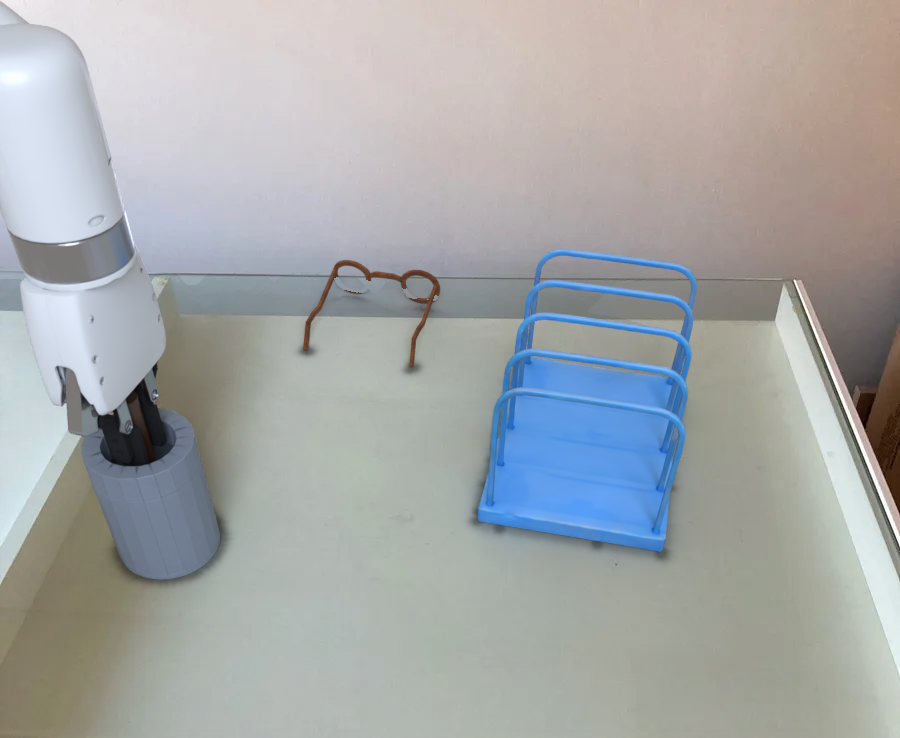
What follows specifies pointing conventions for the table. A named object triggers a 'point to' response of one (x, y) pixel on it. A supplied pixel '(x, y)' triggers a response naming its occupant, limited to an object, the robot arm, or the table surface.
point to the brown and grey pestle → (140, 422)
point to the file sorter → (589, 429)
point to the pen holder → (157, 503)
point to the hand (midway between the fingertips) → (140, 450)
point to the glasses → (368, 277)
